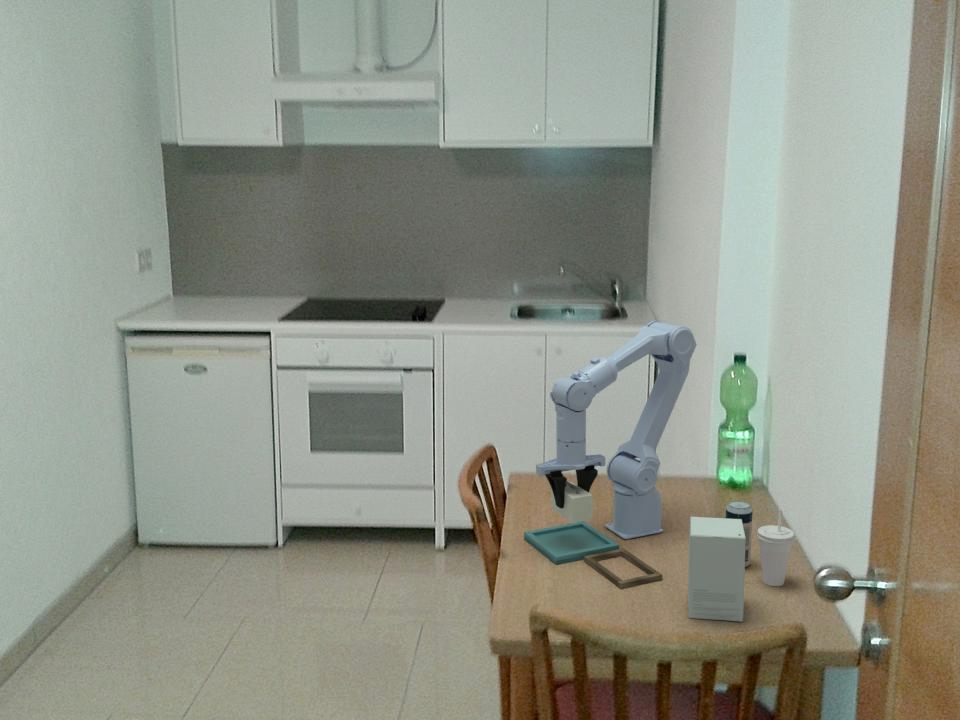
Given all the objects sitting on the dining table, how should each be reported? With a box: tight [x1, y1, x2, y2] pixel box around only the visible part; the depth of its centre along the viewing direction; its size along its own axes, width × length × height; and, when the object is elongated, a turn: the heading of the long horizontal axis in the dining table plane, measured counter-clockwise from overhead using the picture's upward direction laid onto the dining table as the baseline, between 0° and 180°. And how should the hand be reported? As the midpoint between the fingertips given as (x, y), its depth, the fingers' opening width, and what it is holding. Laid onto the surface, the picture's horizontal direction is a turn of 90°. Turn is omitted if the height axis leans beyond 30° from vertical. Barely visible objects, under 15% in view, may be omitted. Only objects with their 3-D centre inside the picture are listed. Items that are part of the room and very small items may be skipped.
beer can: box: [725, 500, 753, 568], centre depth 177 cm, size 5×5×12 cm
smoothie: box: [756, 507, 795, 587], centre depth 169 cm, size 6×6×14 cm
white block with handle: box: [550, 480, 594, 523], centre depth 186 cm, size 4×9×6 cm, turn 23°
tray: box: [523, 521, 620, 566], centre depth 188 cm, size 14×14×2 cm
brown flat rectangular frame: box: [583, 548, 663, 589], centre depth 176 cm, size 9×13×1 cm, turn 23°
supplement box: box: [687, 516, 746, 623], centre depth 159 cm, size 9×9×15 cm
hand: (570, 504), depth 186 cm, fingers closed on white block with handle, 4 cm apart
